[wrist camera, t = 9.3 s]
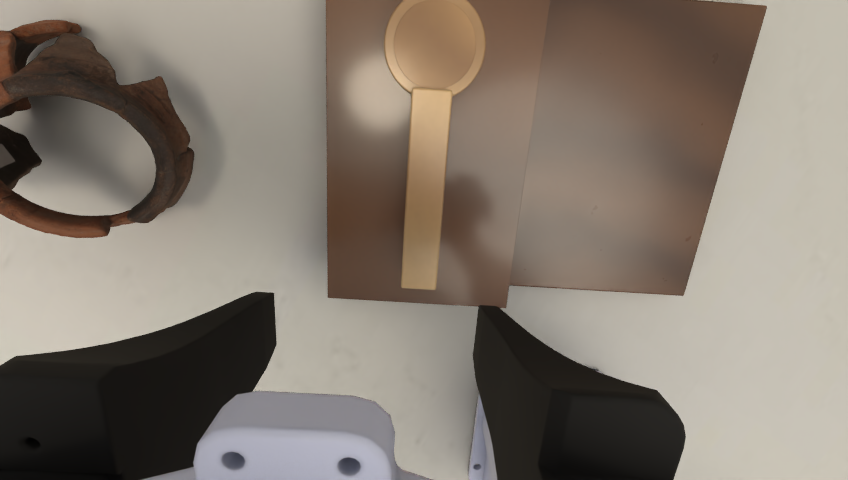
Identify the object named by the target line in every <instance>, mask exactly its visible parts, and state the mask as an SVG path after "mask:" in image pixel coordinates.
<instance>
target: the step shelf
mask: <svg viewBox="0 0 848 480" xmlns="http://www.w3.org/2000/svg"><path fill="white" fill-rule="evenodd" d="M402 1H403V0H326V89H327V253H328V298H342V299H359V300H376V301H393V302H410V303H427V304H444V305H461V306H479V305H488V306H497V307H499V308H506V304H507V297H508V290H509V285H513V286H530V287H547V288H563V289H580V290H597V291H613V292H630V293H647V294H663V295H680V296H683V295H684V292H685V289H686V286H687V282H688V279H689V275H690V272H691V268H692V265H693V261H694V258H695V254H696V251H697V248H698V244H699V241H700V237H701V234H702V230H703V227H704V223H705V220H706V216H707V213H708V209H709V206H710V203H711V199H712V196H713V192H714V189H715V185H716V182H717V178H718V175H719V171H720V168H721V164H722V161H723V158H724V154H725V151H726V147H727V144H728V140H729V137H730V133H731V130H732V126H733V123H734V119H735V116H736V113H737V109H738V106H739V102H740V99H741V95H742V92H743V88H744V85H745V81H746V78H747V75H748V71H749V68H750V64H751V61H752V57H753V54H754V50H755V47H756V43H757V40H758V36H759V33H760V30H761V26H762V23H763V19H764V16H765V12H766V9H767V6H764V5H751V4H738V3H725V2H713V1H700V0H467V1H468V2H469V3H470V4H471V5H472V6H473V7H474V8H475V10H476V11H477V13H478V15H479V17H480V19H481V21H482V24H483V27H484V31H485V38H486V50H485V56H484V60H483V64H482V66H481V68H480V71H479V73H478V74H477V76H476V78H475V79H474V80H473V81H472V83H471V84H470V85H469V86H468V87H467V88H466V89H464V90H463V91H462V92H460V93H458V94H457V95H455V96H453V97H452V106H451V118H450V130H449V142H448V154H447V166H446V178H445V190H444V202H443V214H442V226H441V238H440V250H439V262H438V274H437V286H436V289H435V290H426V289H409V288H402V287H401V275H402V256H403V238H404V219H405V201H406V182H407V164H408V145H409V127H410V108H411V94H410V93H408V92H407V91H405V90H404V89H403V88H402V87H401V86H400V85H399V84H398V83H397V81H396V80H395V79H394V77H393V76H392V74H391V72H390V70H389V68H388V65H387V62H386V59H385V54H384V35H385V30H386V26H387V23H388V21H389V19H390V17H391V15H392V13H393V11H394V10H395V8H396V7H397V6H398V5H399V4H400V3H401V2H402Z"/></svg>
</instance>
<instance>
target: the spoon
mask: <svg viewBox="0 0 848 480" xmlns="http://www.w3.org/2000/svg"><path fill="white" fill-rule="evenodd" d="M485 50H486V38H485V31H484V27H483V24H482V21H481V19H480V17H479V15H478V13H477V11H476V10H475V8H474V7H473V6H472V5H471V4H470V3H469V2H468V1H467V0H403V1H402V2H401V3H400V4H399V5H398V6H397V7H396V8H395V10H394V11H393V13H392V15H391V17H390V19H389V21H388V23H387V26H386V30H385V35H384V54H385V59H386V62H387V65H388V68H389V70H390V72H391V74H392V76H393V77H394V79H395V80H396V81H397V83H398V84H399V85H400V86H401V87H402V88H403V89H404V90H405V91H407V92H408V93H410V94H411V108H410V127H409V145H408V164H407V182H406V201H405V219H404V238H403V256H402V275H401V287H402V288H409V289H426V290H435V289H436V286H437V274H438V262H439V250H440V238H441V226H442V214H443V202H444V190H445V178H446V166H447V154H448V142H449V130H450V118H451V106H452V97H453V96H455V95H457V94H458V93H460V92H462V91H463V90H464V89H466V88H467V87H468V86H469V85H470V84H471V83H472V81H473V80H474V79H475V78H476V76H477V74H478V73H479V71H480V68H481V66H482V64H483V60H484V56H485Z"/></svg>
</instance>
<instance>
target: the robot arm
mask: <svg viewBox="0 0 848 480" xmlns="http://www.w3.org/2000/svg"><path fill="white" fill-rule="evenodd" d="M275 347H276V326H275V307H274V293H267V292H254V293H251V294H248V295H246V296H243V297H241V298H239V299H236V300H234V301H232V302H230V303H227V304H225V305H223V306H221V307H218V308H216V309H214V310H212V311H210V312H207V313H205V314H202V315H200V316H197V317H195V318H192V319H190V320H187V321H185V322H182V323H180V324H177V325H174V326H171V327H168V328H165V329H162V330H159V331H156V332H153V333H149V334H146V335H142V336H138V337H134V338H130V339H126V340H122V341H117V342H113V343H108V344H103V345H98V346H93V347H87V348H81V349H75V350H68V351H60V352H52V353H43V354H34V355H24V356H16V357H14V358H12V359H10V360H9V361H7V362H5V363H4V364H2V365H0V480H432V479H429V478H426V477H423V476H420V475H417V474H414V473H411V472H408V471H405V470H402V469H401V468H400V467H398V466H397V464H396V462H395V457H394V441H395V431H394V427H393V424H392V420H391V416H390V415H389V414H388V413H387V412H386V411H385V410H384V409H383V408H381V407H380V406H379V405H378V404H377V403H376V402H374V401H371V400H367V399H363V398H360V397H356V396H347V395H328V394H309V393H290V392H271V391H255V392H252V391H253V389H254V388H255V386H256V385H257V383H258V381H259V380H260V378H261V376H262V375H263V373H264V371H265V370H266V368H267V366H268V363H269V361H270V359H271V357H272V354H273V352H274V349H275ZM473 360H474V369H475V377H476V382H477V386H478V390H479V393H478V401H477V409H476V416H475V424H474V432H473V440H472V447H471V455H470V463H469V470H468V476H469V480H673V479H674V476H675V473H676V470H677V467H678V464H679V461H680V458H681V455H682V452H683V449H684V443H685V437H686V436H685V430H684V425H683V423H682V421H681V419H680V418H679V416H678V414H677V413H676V412H675V411H674V410H673V408H672V407H671V406H670V405H669V404H668V403H667V401H666V400H665V399H664V398H663V397H662V395H661V394H660V393H659V392H658V391H657V390H653V389H650V388H646V387H643V386H639V385H635V384H632V383H628V382H625V381H621V380H619V379H616V378H613V377H610V376H607V375H605V374H603V373H601V372H599V371H595V370H592V369H590V368H588V367H586V366H583V365H581V364H579V363H577V362H575V361H573V360H571V359H569V358H567V357H565V356H564V355H562V354H560V353H558V352H557V351H555V350H553V349H552V348H550V347H548V346H547V345H545V344H544V343H542V342H541V341H540V340H538V339H537V338H535V337H534V336H533V335H531V334H530V333H529V332H527V331H526V330H525V329H524V328H522V327H521V326H520V325H519V324H518V323H516V322H515V321H514V320H513V319H512V318H511V317H509V316H508V315H507V314H506V313H505V312H503V311H502V310H501V309H500V308H499V307H497V306H488V305H479V310H478V318H477V326H476V335H475V343H474V351H473ZM475 464H478V465H475Z"/></svg>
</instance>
